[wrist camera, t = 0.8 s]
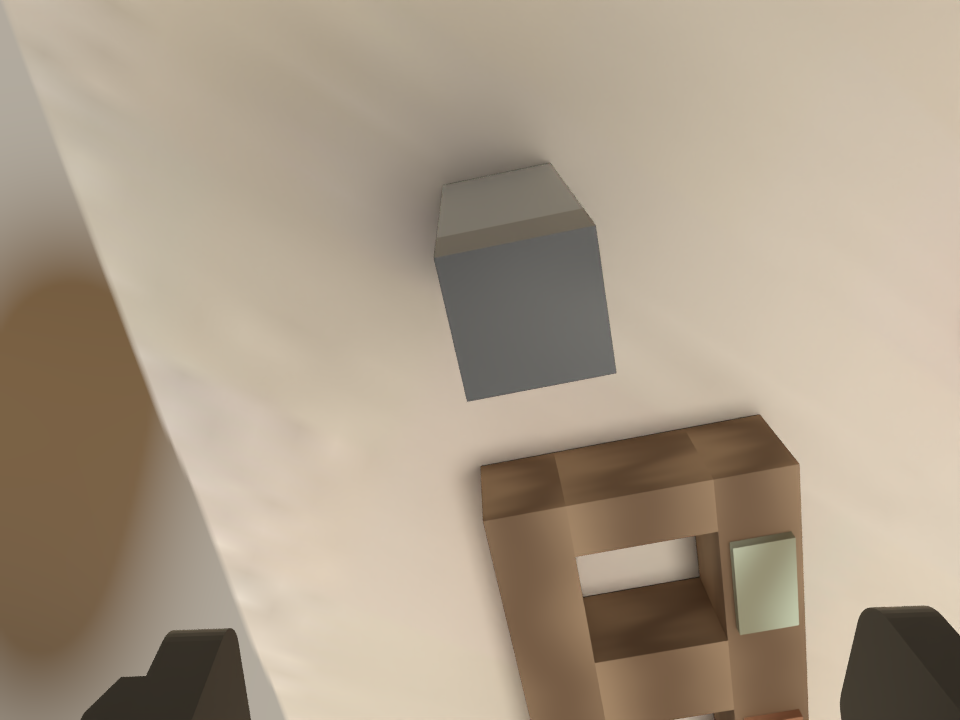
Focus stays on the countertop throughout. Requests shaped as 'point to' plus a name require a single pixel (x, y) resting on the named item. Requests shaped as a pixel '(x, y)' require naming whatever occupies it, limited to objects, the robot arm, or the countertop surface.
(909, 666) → the robot arm
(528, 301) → the plug
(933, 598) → the countertop surface
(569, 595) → the socket block
